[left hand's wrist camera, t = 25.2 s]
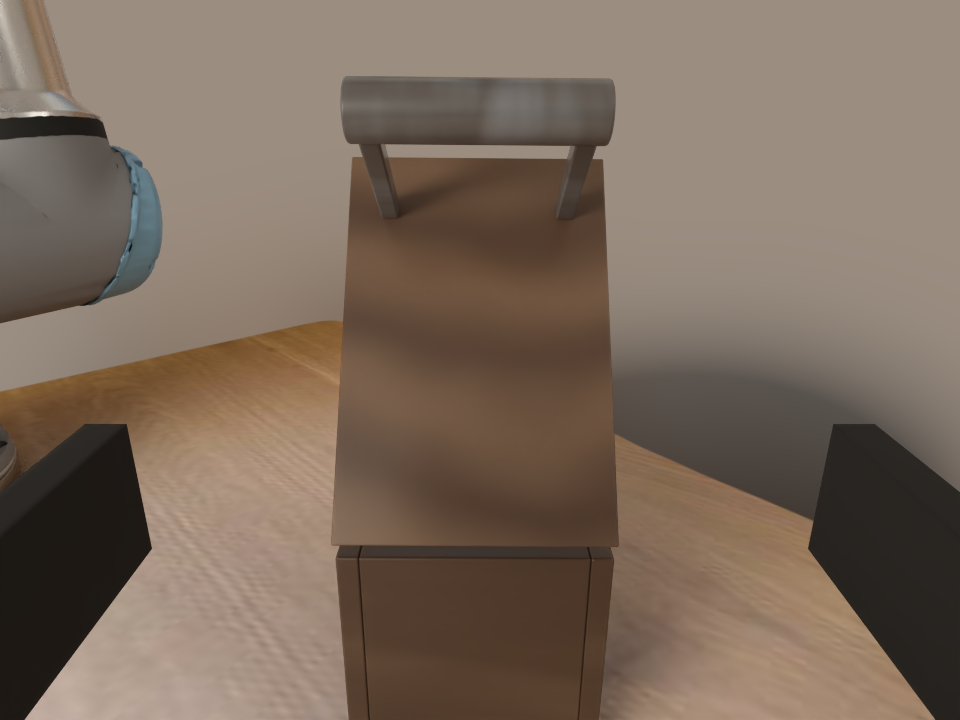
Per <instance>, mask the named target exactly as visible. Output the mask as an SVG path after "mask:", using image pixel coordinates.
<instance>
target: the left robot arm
mask: <svg viewBox="0 0 960 720" xmlns="http://www.w3.org/2000/svg"><path fill="white" fill-rule="evenodd" d="M151 549H152V547H151V542H150V537H149V532H148V527H147V522H146V517H145V512H144V507H143V503H142V498H141V493H140V488H139V483H138V478H137V473H136V468H135V463H134V458H133V453H132V449H131V444H130V439H129V434H128V429H127V424H85V425H84V426H82V427H81V428H80V429H79V430H77V431H76V432H75V433H74V434H72V435H71V436H70V437H69V438H67V439H66V440H65V441H64V442H62V443H61V444H60V445H59V446H57V447H56V448H55V449H54V450H52V451H51V452H50V453H49V454H47V455H46V456H45V457H44V458H42V459H41V460H40V461H39V462H37V463H36V464H35V465H34V466H32V467H31V468H30V469H29V470H27V471H26V472H25V473H24V474H22V475H21V476H20V477H19V478H17V479H16V480H15V481H14V482H12V483H11V484H10V485H9V486H7V487H6V488H5V489H4V490H2V491H1V492H0V720H25V718H26V717H27V716H28V714H29V713H30V712H31V710H32V709H33V708H34V706H35V705H36V704H37V702H38V701H39V700H40V698H41V697H42V696H43V694H44V693H45V692H46V690H47V689H48V687H49V686H50V685H51V683H52V682H53V681H54V679H55V678H56V677H57V675H58V674H59V673H60V671H61V670H62V669H63V667H64V666H65V665H66V663H67V662H68V661H69V659H70V658H71V657H72V655H73V654H74V653H75V651H76V650H77V649H78V647H79V646H80V645H81V643H82V642H83V641H84V639H85V638H86V636H87V635H88V634H89V632H90V631H91V630H92V628H93V627H94V626H95V624H96V623H97V622H98V620H99V619H100V618H101V616H102V615H103V614H104V612H105V611H106V610H107V608H108V607H109V606H110V604H111V603H112V602H113V600H114V599H115V598H116V596H117V595H118V594H119V592H120V591H121V590H122V588H123V587H124V585H125V584H126V583H127V581H128V580H129V579H130V577H131V576H132V575H133V573H134V572H135V571H136V569H137V568H138V567H139V565H140V564H141V563H142V561H143V560H144V559H145V557H146V556H147V555H148V553H149V552H150V551H151ZM808 549H809V551H810V552H811V553H812V555H813V556H814V557H815V559H816V560H817V561H818V563H819V564H820V565H821V567H822V568H823V569H824V571H825V572H826V573H827V575H828V576H829V577H830V579H831V580H832V581H833V583H834V584H835V585H836V587H837V588H838V590H839V591H840V592H841V594H842V595H843V596H844V598H845V599H846V600H847V602H848V603H849V604H850V606H851V607H852V608H853V610H854V611H855V612H856V614H857V615H858V616H859V618H860V619H861V620H862V622H863V623H864V624H865V626H866V627H867V628H868V630H869V631H870V632H871V634H872V635H873V636H874V638H875V639H876V641H877V642H878V643H879V645H880V646H881V647H882V649H883V650H884V651H885V653H886V654H887V655H888V657H889V658H890V659H891V661H892V662H893V663H894V665H895V666H896V667H897V669H898V670H899V671H900V673H901V674H902V675H903V677H904V678H905V679H906V681H907V682H908V683H909V685H910V686H911V687H912V689H913V690H914V692H915V693H916V694H917V696H918V697H919V698H920V700H921V701H922V702H923V704H924V705H925V706H926V708H927V709H928V710H929V712H930V713H931V714H932V716H933V717H934V718H935V720H960V492H959V491H958V490H956V489H955V488H954V487H953V486H951V485H950V484H949V483H948V482H946V481H945V480H944V479H943V478H941V477H940V476H939V475H938V474H936V473H935V472H934V471H933V470H931V469H930V468H929V467H928V466H926V465H925V464H924V463H923V462H921V461H920V460H919V459H918V458H916V457H915V456H914V455H913V454H911V453H910V452H909V451H908V450H906V449H905V448H904V447H903V446H901V445H900V444H899V443H898V442H896V441H895V440H894V439H892V438H891V437H890V436H889V435H888V434H886V433H885V432H884V431H882V430H881V429H880V428H879V427H878V426H876V425H875V424H834V425H833V429H832V434H831V439H830V444H829V449H828V453H827V458H826V463H825V468H824V473H823V478H822V483H821V488H820V493H819V498H818V503H817V508H816V512H815V517H814V522H813V527H812V532H811V537H810V542H809V547H808Z"/></svg>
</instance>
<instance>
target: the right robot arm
mask: <svg viewBox="0 0 960 720" xmlns="http://www.w3.org/2000/svg"><path fill="white" fill-rule="evenodd" d="M161 242H162V213H161V206H160V201H159V196H158V193H157V190H156V187H155V184H154V182H153V179H152V177H151V175H150V173H149V172H148V170H147V169H145V168H142V162H141V161H140V159H139V158H138V157H137V156H136V155H134V154H133V153H131V152H130V151H128V150H124V149H122V148H120V147H116V146H110V145H109V141H108V139H107V135H106V132H105V128H104V125H103V121H102V119H101V117H100V116H98V115H97V114H95V113H94V112H92V111H91V110H89V109H88V108H86V107H85V106H83V105H82V104H80V103H79V102H77V101H76V100H75V99H74V97H73V96H72V93H71V90H70V87H69V83H68V80H67V76H66V73H65V70H64V66H63V63H62V60H61V56H60V53H59V50H58V46H57V43H56V40H55V36H54V33H53V30H52V26H51V23H50V19H49V16H48V13H47V9H46V6H45V3H44V0H0V323H3V322H8V321H12V320H17V319H21V318H25V317H30V316H34V315H39V314H43V313H48V312H52V311H57V310H61V309H65V308H70V307H74V306H85V305H94V304H96V303H98V302H100V301H101V300H103V299H106V298H110V297H113V296H117V295H120V294H124V293H127V292H130V291H132V290H134V289H136V288H137V287H139V286H140V285H141V284H142V283H144V282H145V280H146V279H147V278H148V277H149V275H150V274H151V272H152V270H153V268H154V265H155V261H156V259H157V258H158V256H159V252H160V248H161ZM20 472H21V466H20V461H19V458H18V454H17V450H16V446H15V444H14V442H13V441H12V439H11V437H10V436H9V434H8V433H7V432H6V430H5V429H4V428H3V427H2V425H1V424H0V492H1V491H2V490H4V489H5V488H6V487H7V486H9V485H10V484H11V483H12V482H14V481H15V480H16V479H17V478H19V475H20Z"/></svg>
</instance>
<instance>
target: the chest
mask: <svg viewBox="0 0 960 720" xmlns="http://www.w3.org/2000/svg"><path fill="white" fill-rule="evenodd" d="M613 566H614V558H613V555H612V552H611V548H610V547H535V546H345V545H340V547H339V550H338V553H337V556H336V568H337V581H338V593H339V605H340V617H341V629H342V642H343V654H344V666H345V678H346V690H347V703H348V715H349V720H599V713H600V702H601V692H602V681H603V671H604V660H605V650H606V639H607V629H608V618H609V608H610V598H611V587H612V577H613Z"/></svg>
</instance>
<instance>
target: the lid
mask: <svg viewBox="0 0 960 720" xmlns="http://www.w3.org/2000/svg"><path fill="white" fill-rule="evenodd" d="M341 119H342V126H343V132H344V135H345V138H346V140H347V142H348V143H350V144H359V146H360V149H361V153H362V156H363V157H353V158H352V171H351V189H350V207H349V226H348V245H347V263H346V281H345V300H344V319H343V336H342V355H341V373H340V392H339V410H338V429H337V447H336V465H335V484H334V502H333V521H332V539H331V545H345V546H535V547H618V546H619V541H618V517H617V492H616V467H615V443H614V418H613V393H612V369H611V344H610V320H609V295H608V271H607V246H606V221H605V196H604V172H603V160H602V159H593V156H594V153H595V149H596V146H606V145H608V144H609V142H610V139H611V136H612V132H613V127H614V119H615V87H614V83H613V80H611V79H596V78H595V79H594V78H485V77H376V76H346V77H344V79H343V81H342V86H341ZM385 144H423V145H425V144H426V145H540V146H541V145H542V146H543V145H544V146H570V150H569V154H568V158H567V159H499V158H388V155H387V151H386V146H385Z"/></svg>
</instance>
